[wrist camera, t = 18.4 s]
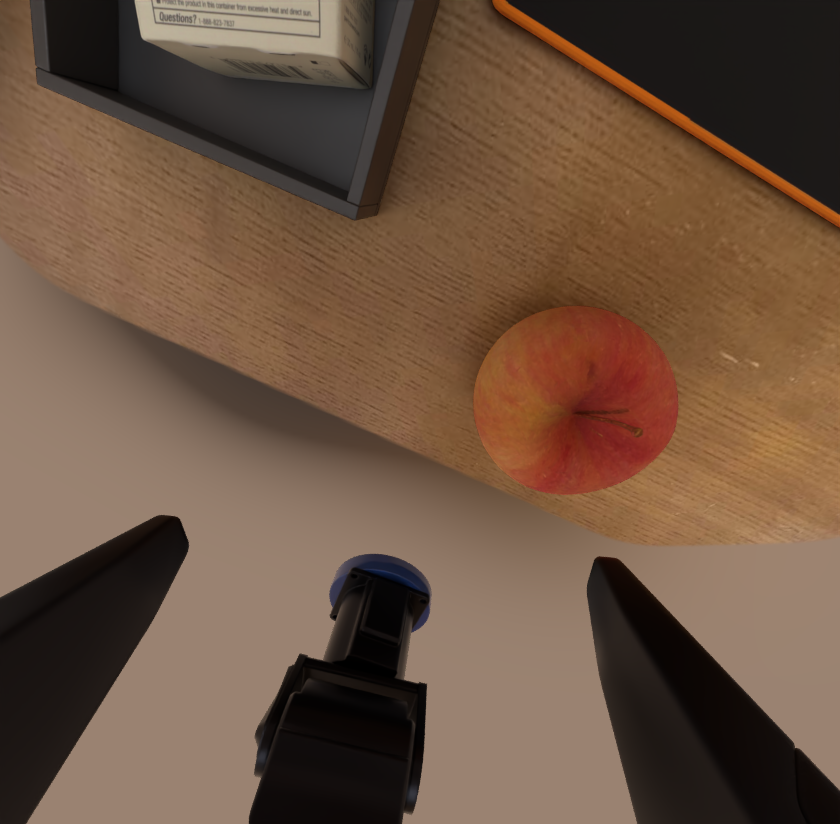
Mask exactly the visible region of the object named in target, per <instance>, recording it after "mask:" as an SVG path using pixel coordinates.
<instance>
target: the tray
mask: <svg viewBox="0 0 840 824" xmlns="http://www.w3.org/2000/svg"><path fill="white" fill-rule="evenodd" d="M439 1H440V0H375V15H374V44H373V81H372V87H371V88H368V89H354V88H346V87H335V86H324V85H313V84H303V83H291V82H279V81H270V80H256V79H246V78H235V77H228V76H225V75H222V74H219V73H216V72H213V71H210V70H208V69H205V68H203V67H201V66H199V65H196V64H194V63H192V62H190V61H188V60H186V59H184V58H181V57H179V56H177V55H175V54H173V53H171V52H169V51H166V50H164V49H162V48H160V47H158V46H156V45H154V44H152V43H150V42H147V41H145V40H143V38H142V37H141V33H140V27H139V22H138V17H137V11H136V6H135V0H30V8H31V20H32V31H33V42H34V54H35V64H36V66H37V67H38V68H36V76H37V83H38V84H39V85H40V86H42V87H45V88H47V89H49V90H52V91H54V92H56V93H59V94H61V95H63V96H66V97H68V98H70V99H73V100H75V101H77V102H80V103H82V104H84V105H87V106H89V107H91V108H94V109H96V110H98V111H101V112H103V113H105V114H108V115H110V116H112V117H115V118H117V119H119V120H122V121H124V122H126V123H129V124H131V125H133V126H136V127H138V128H140V129H143V130H145V131H147V132H150V133H152V134H154V135H156V136H159V137H161V138H163V139H166V140H168V141H170V142H173V143H175V144H177V145H180V146H182V147H184V148H187V149H189V150H191V151H194V152H196V153H198V154H201V155H203V156H205V157H208V158H210V159H212V160H215V161H217V162H219V163H222V164H224V165H226V166H229V167H231V168H233V169H236V170H238V171H240V172H243V173H245V174H247V175H250V176H252V177H254V178H257V179H259V180H261V181H264V182H266V183H268V184H271V185H273V186H275V187H278V188H280V189H282V190H285V191H287V192H289V193H292V194H294V195H296V196H299V197H301V198H303V199H306V200H308V201H310V202H313V203H315V204H317V205H320V206H322V207H324V208H327V209H329V210H331V211H334V212H336V213H338V214H341V215H343V216H345V217H348V218H350V219H352V220H360V219H364V218H368V217H372V216H376V215H377V213H378V210H379V206H380V203H381V199H382V196H383V192H384V189H385V186H386V182H387V179H388V175H389V172H390V169H391V165H392V162H393V158H394V155H395V151H396V148H397V145H398V141H399V138H400V134H401V131H402V128H403V124H404V121H405V117H406V114H407V110H408V107H409V104H410V100H411V97H412V93H413V90H414V87H415V83H416V80H417V76H418V73H419V69H420V66H421V63H422V59H423V56H424V52H425V49H426V46H427V42H428V39H429V35H430V32H431V29H432V25H433V22H434V18H435V15H436V11H437V8H438V5H439Z"/></svg>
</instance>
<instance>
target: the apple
mask: <svg viewBox="0 0 840 824" xmlns="http://www.w3.org/2000/svg"><path fill="white" fill-rule="evenodd" d="M473 407H474V417H475V423H476V426H477V430H478V433H479V436H480V439H481V441H482V443H483V445H484V447H485V449H486V451H487V452H488V454H489V455H490V457H491V458H492V459H493V461H494V462H495V463H496V464H497V465H498V466H499V467H500V468H501V469H502V470H503V471H504V472H505V473H506V474H507V475H509V476H510V477H511V478H513V479H514V480H516V481H517V482H519V483H521V484H523V485H525V486H527V487H529V488H532V489H535V490H538V491H541V492H545V493H552V494H562V495H568V494H581V493H588V492H592V491H597V490H601V489H604V488H608V487H611V486H613V485H616V484H618V483H621V482H623V481H625V480H627V479H629V478H630V477H632V476H634V475H635V474H637V473H638V472H640V471H641V470H642V469H644V468H645V467H646V466H648V465H649V464H650V463H651V462H652V461H653V460H654V459H655V458H656V457H657V456H658V455H659V454H660V453H661V452H662V451H663V450H664V448H665V447H666V445H667V444H668V442H669V441H670V439H671V437H672V435H673V433H674V430H675V427H676V422H677V416H678V393H677V386H676V381H675V377H674V374H673V371H672V369H671V366H670V364H669V362H668V360H667V358H666V356H665V354H664V353H663V351H662V350H661V348H660V347H659V346H658V345H657V343H656V342H655V341H654V340H653V339H652V338H651V337H650V336H649V335H648V334H647V333H646V332H645V331H644V330H643V329H641V328H640V327H639V326H637V325H636V324H634V323H633V322H631V321H630V320H628V319H626V318H624V317H622V316H620V315H618V314H615V313H613V312H610V311H607V310H603V309H599V308H594V307H587V306H564V307H557V308H552V309H547V310H544V311H541V312H538V313H535V314H533V315H531V316H529V317H527V318H525V319H523V320H521V321H520V322H518V323H517V324H515V325H514V326H512V327H511V328H510V329H509V330H507V331H506V332H505V333H504V334H503V335H502V336H501V337H500V338H499V339H498V340H497V341H496V343H495V344H494V345H493V346H492V348H491V349H490V351H489V352H488V353H487V355H486V357H485V359H484V361H483V363H482V365H481V367H480V370H479V372H478V375H477V379H476V383H475V388H474V399H473Z"/></svg>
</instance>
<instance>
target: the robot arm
mask: <svg viewBox="0 0 840 824" xmlns="http://www.w3.org/2000/svg"><path fill="white" fill-rule="evenodd" d="M188 548H189V542H188V539H187V536H186V534H185V531H184V528H183V526H182V523H181V521H180V519H179V518H178V517H175V516H167V515H159V516H156V517H154V518H152V519H150V520H148V521H146V522H144V523H142V524H140V525H138V526H136V527H134V528H132V529H131V530H129V531H127V532H125V533H123V534H121V535H119V536H117V537H115V538H113V539H112V540H109V541H108V542H106V543H104V544H102V545H100V546H98V547H96V548H94V549H92V550H90V551H88V552H86V553H85V554H83V555H81V556H79V557H77V558H75V559H73V560H71V561H69V562H67V563H65V564H63V565H62V566H60V567H58V568H56V569H54V570H52V571H50V572H48V573H46V574H44V575H42V576H41V577H39V578H37V579H35V580H33V581H31V582H29V583H27V584H25V585H24V586H22V587H20V588H18V589H16V590H14V591H12V592H10V593H8V594H6V595H4V596H2V597H0V824H26V823H27V822H28V820H29V818H30V817H31V815H32V813H33V812H34V810H35V809H36V807H37V806H38V804H39V802H40V801H41V799H42V798H43V796H44V794H45V793H46V791H47V789H48V788H49V786H50V785H51V783H52V781H53V780H54V778H55V777H56V775H57V773H58V772H59V770H60V769H61V767H62V765H63V764H64V762H65V760H66V759H67V757H68V756H69V754H70V753H71V751H72V749H73V748H74V746H75V745H76V743H77V741H78V740H79V738H80V736H81V735H82V733H83V732H84V730H85V729H86V727H87V725H88V724H89V722H90V720H91V719H92V717H93V716H94V714H95V713H96V711H97V709H98V708H99V706H100V705H101V703H102V701H103V700H104V698H105V696H106V695H107V693H108V692H109V690H110V688H111V687H112V685H113V684H114V682H115V680H116V679H117V677H118V676H119V674H120V673H121V671H122V669H123V668H124V666H125V665H126V663H127V661H128V660H129V658H130V657H131V655H132V653H133V652H134V650H135V649H136V647H137V645H138V644H139V642H140V640H141V639H142V637H143V636H144V634H145V632H146V631H147V629H148V628H149V626H150V624H151V622H152V621H153V619H154V617H155V615H156V614H157V612H158V610H159V608H160V606H161V604H162V602H163V600H164V598H165V596H166V594H167V592H168V590H169V588H170V586H171V584H172V582H173V580H174V578H175V576H176V574H177V572H178V570H179V568H180V567H181V565H182V563H183V561H184V559H185V557H186V555H187V552H188ZM587 598H588V604H589V611H590V617H591V625H592V631H593V638H594V645H595V652H596V658H597V664H598V670H599V676H600V680H601V685H602V689H603V693H604V697H605V700H606V704H607V708H608V712H609V716H610V720H611V723H612V727H613V732H614V735H615V739H616V743H617V747H618V751H619V755H620V759H621V762H622V766H623V770H624V774H625V778H626V782H627V785H628V789H629V793H630V797H631V801H632V805H633V809H634V812H635V817H636V821H637V824H840V790H839V789H838V788H837V787H836V786H835V785H834V784H833V783H832V782H831V781H830V780H829V779H828V778H827V777H826V776H825V775H824V774H823V773H822V772H821V771H820V769H819V768H817V766H816V765H815V764H814V763H813V762H812V761H811V760H810V759H809V758H808V757H807V756H806V755H805V754H804V753H803V752H802V751H801V750H800V749H798V748H795V746H794V743H793V741H792V740H791V739H790V738H789V737H788V736H787V735H786V734H785V733H784V732H783V731H782V730H781V729H780V728H779V727H778V726H777V725H776V724H775V722H773V720H772V719H771V718H769V716H768V715H767V714H766V713H765V712H764V711H763V710H762V709H761V708H760V707H759V706H758V705H757V704H756V702H755V701H753V699H752V698H751V697H750V696H749V695H748V694H747V693H746V692H745V691H744V690H743V689H742V688H741V687H740V686H739V685H738V684H737V683H736V682H735V680H734V679H733V678H732V677H731V676H730V675H729V674H728V673H727V672H726V671H725V670H724V669H723V668H722V667H721V666H720V665H719V664H718V663H717V662H716V661H715V659H714V658H713V657H712V656H711V655H710V654H709V653H708V652H707V651H706V650H705V649H704V648H703V647H702V646H701V645H700V644H699V643H698V642H697V641H696V640H695V638H694V637H693V636H692V635H691V634H690V633H689V632H688V631H687V630H686V629H685V628H684V627H683V626H682V625H681V624H680V623H679V622H678V621H677V619H676V618H675V617H674V616H673V615H672V614H671V613H670V612H669V611H668V610H667V609H666V608H665V607H664V606H663V605H662V604H661V603H660V602H659V601H658V600H657V599H656V597H655V596H654V595H653V594H652V593H651V592H650V591H649V590H648V589H647V588H646V587H645V586H644V585H643V584H642V583H641V582H640V581H639V580H638V578H637V577H636V576H635V575H634V574H633V573H632V572H631V571H630V570H629V569H628V568H627V567H626V566H625V565H624V564H623V563H622V562H621V561H620V560H619V559H617V558H611V557H600V556H599V557H597V558H596V559H595V560H594V563H593V566H592V570H591V573H590V577H589V580H588V584H587ZM429 602H430V596H429V594H427V593H425V592H422V591H419V590H417V589H414V588H411V587H409V586H406V585H403V584H400V583H398V582H395V581H392V580H389V579H387V578H384V577H381V576H379V575H376V574H373V573H370V572H368V571H365V570H362V569H359V568H356V567H353V568H351V569H350V570H349V573H348V575H347V577H346V579H345V582H344V584H343V586H342V588H341V591H340V593H339V595H338V597H337V600H336V602H335V604H334V606H333V609H332V611H331V614H330V618H331V619H332V620H334V621H336V622H335V625H334V628H333V631H332V634H331V637H330V640H329V643H328V646H327V649H326V652H325V655H324V658H323V661H322V660H318V659H314V658H310V657H308V656H307V655H304V654H299V656H298V658H297V661H296V662H295V665H292V666H290V667H288V670H287V672H286V675H285V677H284V680H283V682H282V685H281V687H280V689H279V692H278V694H277V696H276V697H275V699H274V701H273V702H272V704H271V706H270V707H269V709H268V711H267V712H266V714H265V716H264V717H263V719H262V720H261V722H260V724H259V725H258V728H257V730H256V733H255V740H256V743H257V746H258V751H257V760H256V764H255V772H254V775H255V776H256V777H260V778H261V780H260V783H259V786H258V789H257V792H256V795H255V799H254V802H253V805H252V808H251V811H250V815H249V824H402V819H403V813H407V814H412V813H413V811H414V807H415V804H416V800H417V795H418V790H419V785H420V778H421V772H422V763H423V753H424V738H425V737H424V736H425V715H426V691H427V684H425V683H421V682H419V683H414V682H410V681H406V680H404V676H405V669H406V663H407V656H408V650H409V643H410V636H411V631H412V629H413V628H414V626H415V625H416V623H417V622H418V620H419V618H420V617H421V615H422V614H423V612H424V611H425V609H426V608H427V606H428V604H429Z"/></svg>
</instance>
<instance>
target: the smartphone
mask: <svg viewBox="0 0 840 824" xmlns="http://www.w3.org/2000/svg"><path fill="white" fill-rule="evenodd" d="M492 3H493V5H494V7H495V8H496V9H497V10H498V11H499V12H500V13H501V14H502V15H504V16H505V17H507V18H509V19H510V20H512V21H513V22H515V23H516V24H518V25H520V26H521V27H523V28H524V29H526V30H527V31H529V32H531V33H532V34H534V35H535V36H537V37H539V38H540V39H542V40H543V41H545V42H546V43H548V44H550V45H551V46H553V47H554V48H556V49H558V50H559V51H561V52H562V53H564V54H565V55H567V56H569V57H570V58H572V59H573V60H575V61H577V62H578V63H580V64H581V65H583V66H584V67H586V68H588V69H589V70H591V71H592V72H594V73H596V74H597V75H599V76H600V77H602V78H603V79H605V80H607V81H608V82H610V83H611V84H613V85H615V86H616V87H618V88H619V89H621V90H622V91H624V92H626V93H627V94H629V95H630V96H632V97H633V98H635V99H637V100H638V101H640V102H641V103H643V104H645V105H646V106H648V107H649V108H651V109H652V110H654V111H656V112H657V113H659V114H660V115H662V116H664V117H665V118H667V119H668V120H670V121H671V122H673V123H675V124H676V125H678V126H679V127H681V128H683V129H684V130H686V131H687V132H689V133H690V134H692V135H694V136H695V137H697V138H698V139H700V140H702V141H703V142H705V143H706V144H708V145H709V146H711V147H713V148H714V149H716V150H717V151H719V152H721V153H722V154H724V155H725V156H727V157H728V158H730V159H732V160H733V161H735V162H736V163H738V164H739V165H741V166H743V167H744V168H746V169H747V170H749V171H751V172H752V173H754V174H755V175H757V176H758V177H760V178H762V179H763V180H765V181H766V182H768V183H770V184H771V185H773V186H774V187H776V188H777V189H779V190H781V191H782V192H784V193H785V194H787V195H789V196H790V197H792V198H793V199H795V200H796V201H798V202H800V203H801V204H803V205H804V206H806V207H808V208H809V209H811V210H812V211H814V212H815V213H817V214H819V215H820V216H822V217H823V218H825V219H827V220H828V221H830V222H831V223H833V224H834V225H836V226H838V227H839V228H840V0H492Z"/></svg>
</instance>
